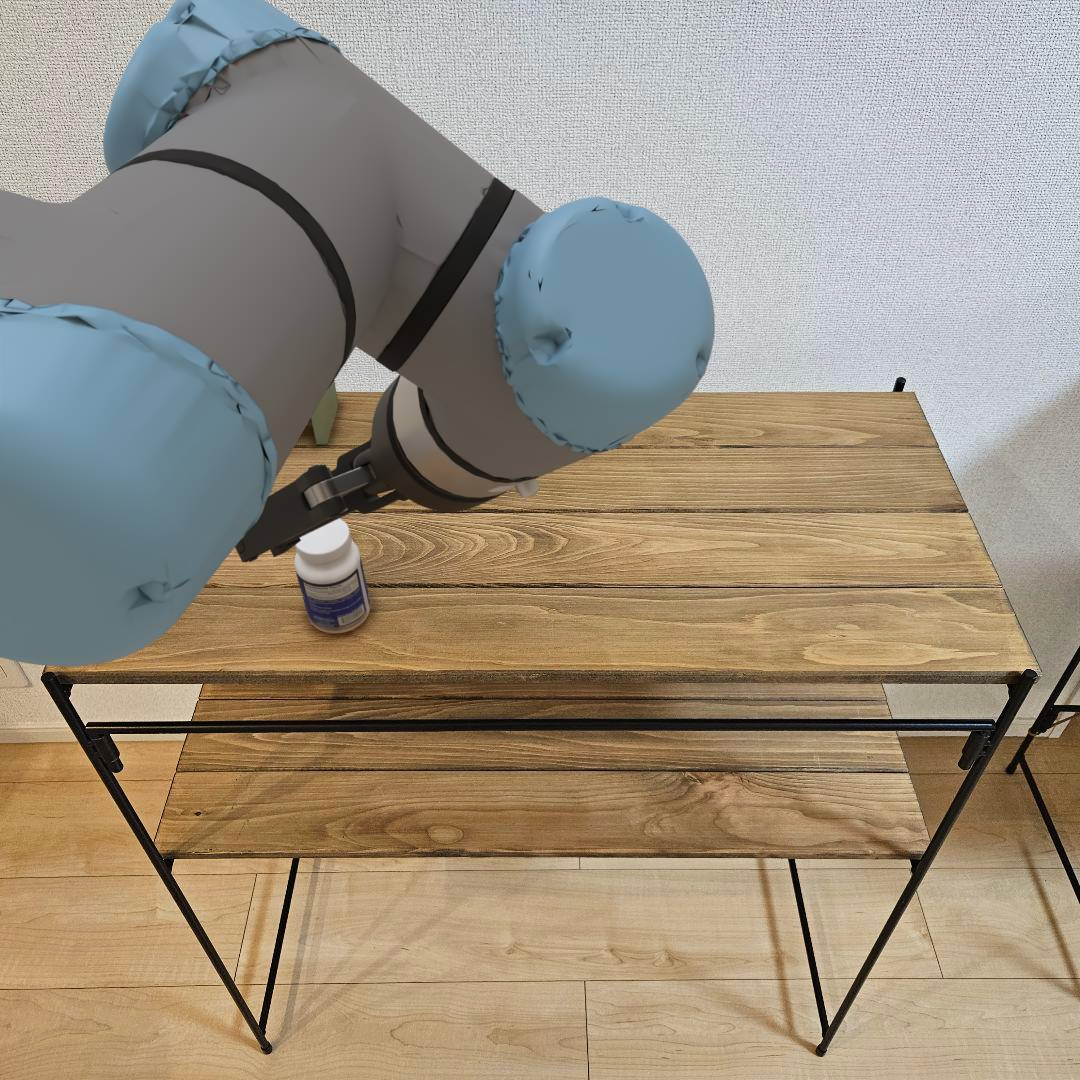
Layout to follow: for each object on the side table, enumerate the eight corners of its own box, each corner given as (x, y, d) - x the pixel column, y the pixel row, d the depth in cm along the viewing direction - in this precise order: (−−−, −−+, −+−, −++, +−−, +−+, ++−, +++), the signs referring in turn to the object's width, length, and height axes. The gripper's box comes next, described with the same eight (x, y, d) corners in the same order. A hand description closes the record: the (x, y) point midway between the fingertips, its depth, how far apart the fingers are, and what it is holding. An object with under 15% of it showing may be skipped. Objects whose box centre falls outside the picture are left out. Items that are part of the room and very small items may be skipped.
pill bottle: (318, 587, 84) (299, 508, 77) (377, 592, 84) (363, 513, 77) (300, 633, 80) (278, 554, 73) (362, 639, 79) (345, 559, 73)
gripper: (248, 610, 36) (210, 626, 55) (699, 405, 47) (536, 479, 66) (167, 442, 36) (158, 517, 55) (641, 273, 46) (494, 386, 66)
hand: (364, 496), depth 61 cm, fingers open, 13 cm apart
